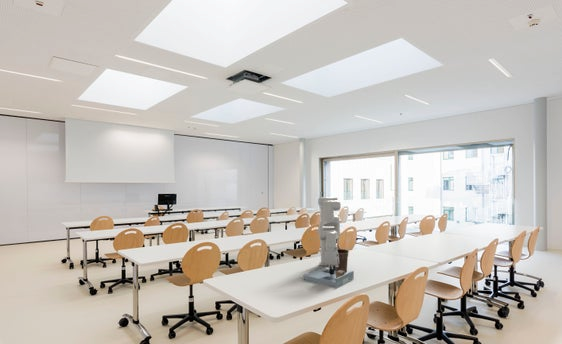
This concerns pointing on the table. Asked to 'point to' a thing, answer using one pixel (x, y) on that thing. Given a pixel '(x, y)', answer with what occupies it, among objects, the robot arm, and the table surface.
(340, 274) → the walnut cube
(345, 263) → the plant pot
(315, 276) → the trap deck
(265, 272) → the table surface
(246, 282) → the table surface
